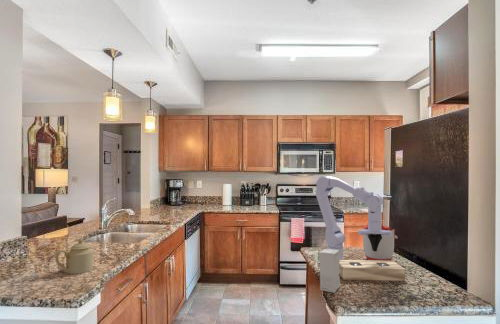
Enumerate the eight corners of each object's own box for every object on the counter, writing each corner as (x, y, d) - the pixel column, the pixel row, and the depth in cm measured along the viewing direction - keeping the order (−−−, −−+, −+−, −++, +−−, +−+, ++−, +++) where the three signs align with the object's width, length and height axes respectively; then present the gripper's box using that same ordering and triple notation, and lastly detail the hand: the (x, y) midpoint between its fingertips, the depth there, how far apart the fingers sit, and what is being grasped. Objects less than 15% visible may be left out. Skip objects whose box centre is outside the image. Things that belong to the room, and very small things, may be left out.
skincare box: (334, 293, 120) (334, 254, 120) (319, 290, 123) (319, 252, 123) (340, 286, 127) (340, 249, 127) (325, 283, 130) (325, 247, 130)
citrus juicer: (404, 265, 156) (403, 224, 156) (368, 264, 156) (368, 224, 157) (390, 256, 172) (390, 219, 172) (358, 256, 172) (358, 219, 172)
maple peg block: (336, 270, 147) (336, 259, 147) (392, 271, 146) (392, 260, 146) (343, 279, 135) (343, 268, 135) (405, 280, 134) (404, 268, 134)
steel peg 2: (376, 273, 142) (376, 263, 142) (385, 273, 142) (385, 263, 142) (380, 276, 138) (379, 265, 138) (389, 276, 138) (389, 266, 138)
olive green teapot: (75, 278, 135) (75, 242, 136) (53, 276, 137) (53, 241, 138) (98, 267, 150) (98, 235, 150) (78, 266, 152) (78, 234, 152)
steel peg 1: (349, 273, 143) (349, 262, 143) (358, 273, 142) (358, 263, 143) (352, 276, 139) (352, 265, 139) (361, 276, 138) (361, 265, 139)
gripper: (361, 222, 141) (361, 252, 141) (394, 222, 141) (394, 253, 140) (356, 219, 148) (356, 248, 148) (388, 220, 148) (387, 249, 147)
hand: (374, 250), depth 145 cm, fingers closed
